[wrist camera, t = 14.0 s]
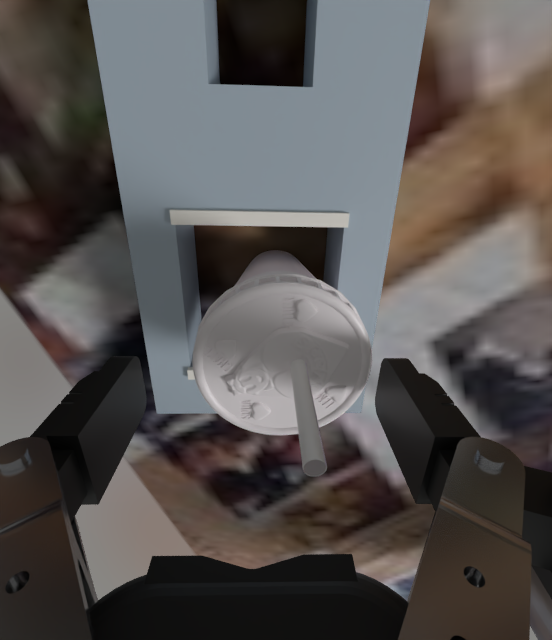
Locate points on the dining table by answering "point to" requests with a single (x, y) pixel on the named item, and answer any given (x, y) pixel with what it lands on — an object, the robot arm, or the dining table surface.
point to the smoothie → (282, 354)
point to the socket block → (252, 153)
